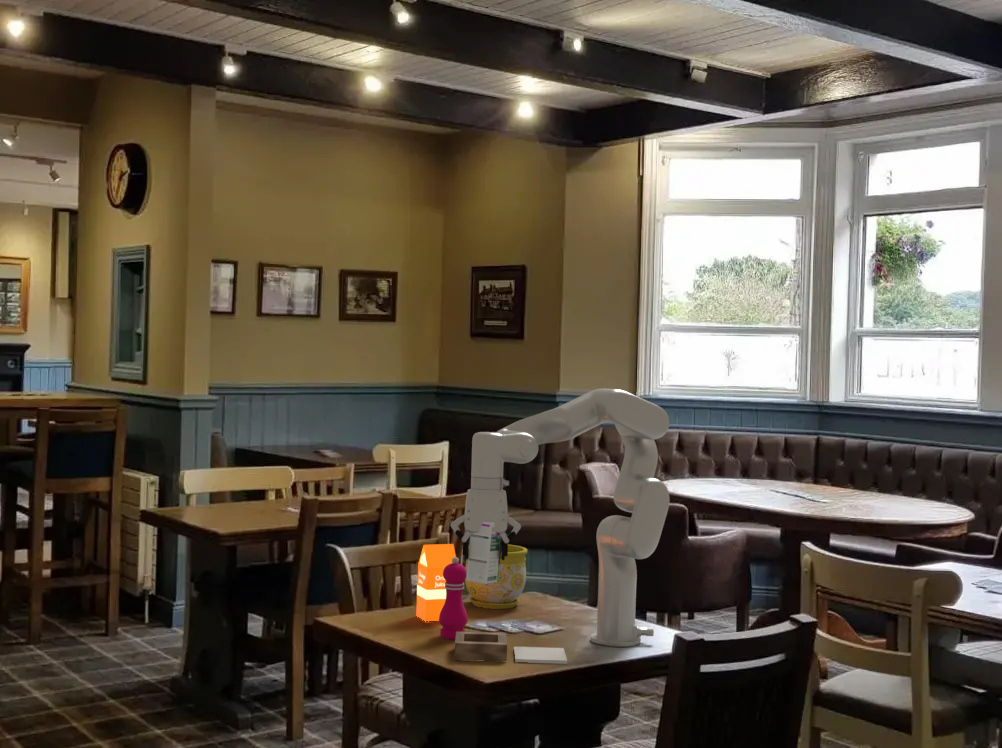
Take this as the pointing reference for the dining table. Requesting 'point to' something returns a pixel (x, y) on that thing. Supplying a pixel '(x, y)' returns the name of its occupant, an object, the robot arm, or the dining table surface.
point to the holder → (481, 646)
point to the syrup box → (484, 555)
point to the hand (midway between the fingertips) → (484, 558)
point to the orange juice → (432, 580)
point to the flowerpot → (502, 582)
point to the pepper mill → (453, 601)
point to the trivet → (540, 655)
